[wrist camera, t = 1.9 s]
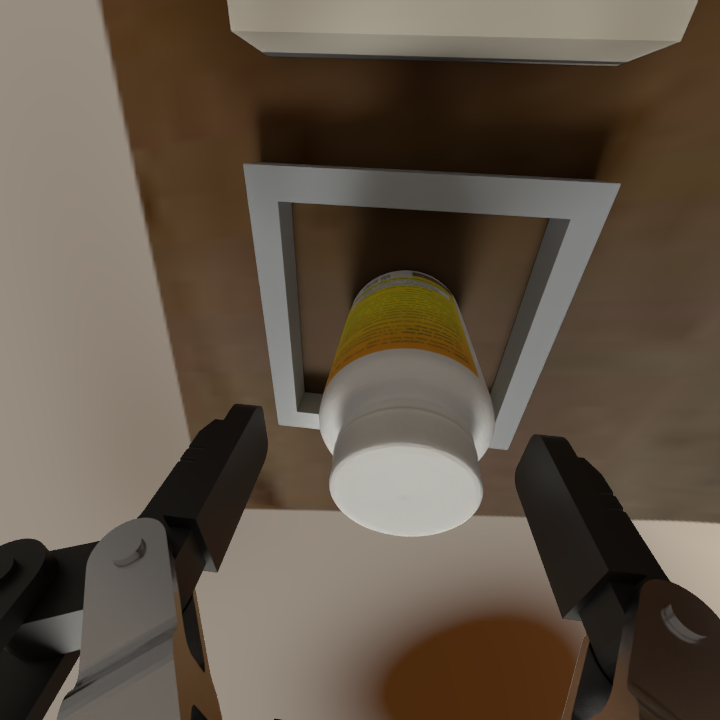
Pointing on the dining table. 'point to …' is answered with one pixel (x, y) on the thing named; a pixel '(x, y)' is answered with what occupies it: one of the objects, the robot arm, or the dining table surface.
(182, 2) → the dining table surface
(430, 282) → the supplement bottle
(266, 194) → the tray
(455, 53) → the holder
